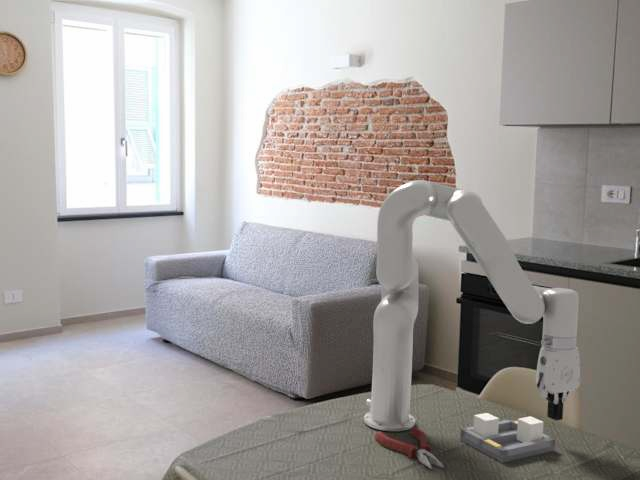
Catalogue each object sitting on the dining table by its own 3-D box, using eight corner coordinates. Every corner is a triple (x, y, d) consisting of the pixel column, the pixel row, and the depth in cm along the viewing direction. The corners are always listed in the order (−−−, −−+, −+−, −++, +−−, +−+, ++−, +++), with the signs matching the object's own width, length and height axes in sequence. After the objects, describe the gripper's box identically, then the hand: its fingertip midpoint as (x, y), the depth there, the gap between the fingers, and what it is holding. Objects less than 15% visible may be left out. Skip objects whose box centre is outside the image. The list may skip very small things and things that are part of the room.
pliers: (413, 476, 155) (414, 464, 155) (372, 440, 174) (373, 429, 173) (461, 470, 159) (461, 458, 159) (416, 435, 178) (416, 425, 177)
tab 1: (472, 435, 173) (474, 415, 173) (485, 433, 175) (487, 412, 175) (484, 442, 170) (485, 421, 169) (497, 439, 172) (499, 418, 171)
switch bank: (460, 439, 174) (460, 428, 174) (510, 429, 182) (511, 418, 182) (502, 462, 162) (502, 450, 162) (554, 450, 170) (555, 438, 170)
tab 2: (516, 439, 172) (518, 418, 172) (529, 436, 174) (530, 416, 173) (529, 445, 169) (530, 424, 168) (542, 442, 171) (543, 421, 170)
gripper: (548, 349, 165) (543, 429, 167) (594, 342, 172) (589, 418, 175) (523, 341, 172) (519, 418, 174) (569, 334, 179) (564, 408, 181)
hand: (554, 418), depth 174 cm, fingers closed
